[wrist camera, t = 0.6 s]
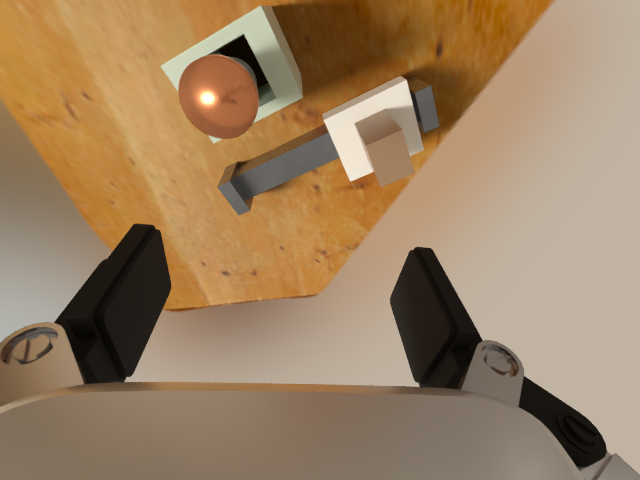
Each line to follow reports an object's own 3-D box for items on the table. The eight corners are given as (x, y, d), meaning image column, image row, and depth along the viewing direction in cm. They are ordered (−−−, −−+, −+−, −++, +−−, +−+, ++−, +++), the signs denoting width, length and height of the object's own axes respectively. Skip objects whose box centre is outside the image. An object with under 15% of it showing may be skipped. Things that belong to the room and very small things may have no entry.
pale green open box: (271, 6, 27) (260, 5, 19) (301, 74, 31) (302, 97, 23) (198, 50, 29) (160, 66, 21) (234, 110, 32) (213, 143, 24)
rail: (414, 75, 31) (431, 85, 27) (422, 112, 34) (439, 126, 30) (226, 167, 36) (217, 186, 32) (244, 194, 38) (238, 215, 34)
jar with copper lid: (243, 33, 20) (228, 40, 16) (276, 98, 23) (271, 119, 18) (189, 65, 21) (160, 80, 17) (226, 124, 24) (210, 150, 19)
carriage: (395, 72, 30) (430, 95, 22) (412, 136, 34) (447, 175, 26) (321, 109, 31) (329, 142, 24) (345, 166, 35) (359, 211, 28)
